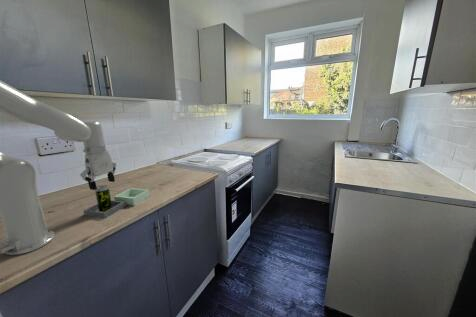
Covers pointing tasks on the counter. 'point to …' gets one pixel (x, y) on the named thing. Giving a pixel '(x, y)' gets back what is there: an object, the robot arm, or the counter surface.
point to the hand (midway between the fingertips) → (103, 185)
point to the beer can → (103, 198)
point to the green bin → (132, 196)
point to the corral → (117, 206)
